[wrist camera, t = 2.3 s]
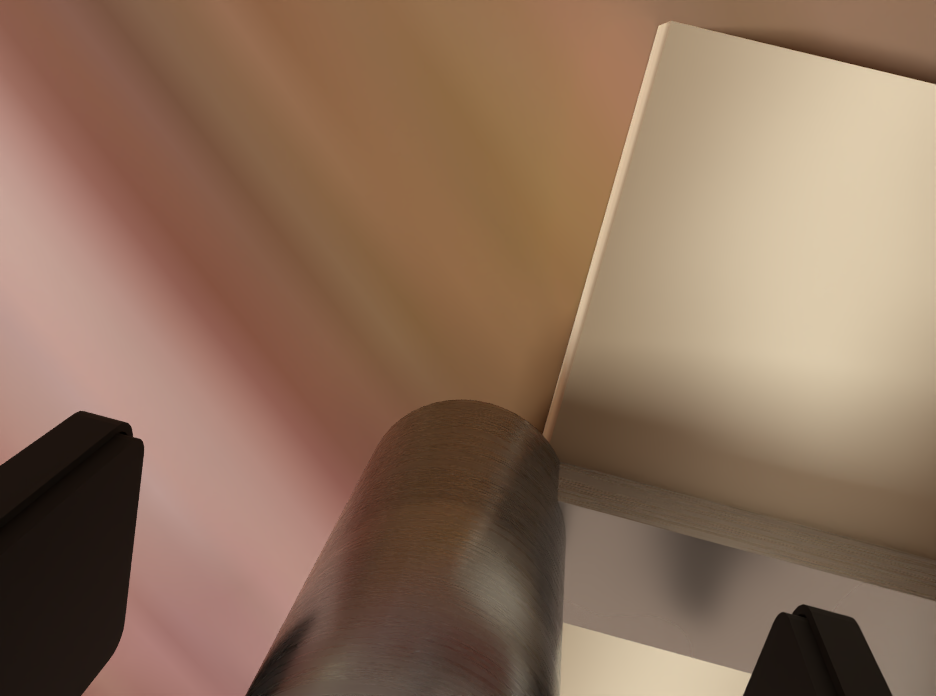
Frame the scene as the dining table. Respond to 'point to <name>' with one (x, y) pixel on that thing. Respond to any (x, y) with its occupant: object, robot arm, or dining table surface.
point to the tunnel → (759, 313)
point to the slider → (562, 573)
